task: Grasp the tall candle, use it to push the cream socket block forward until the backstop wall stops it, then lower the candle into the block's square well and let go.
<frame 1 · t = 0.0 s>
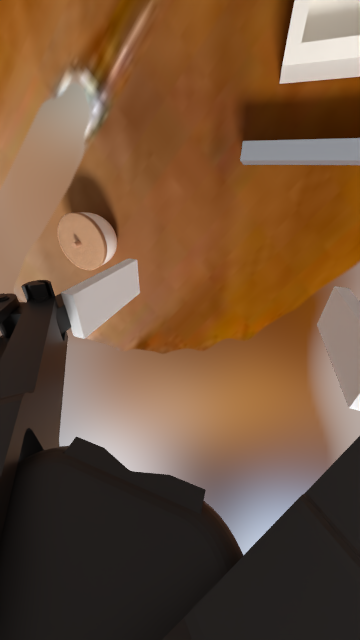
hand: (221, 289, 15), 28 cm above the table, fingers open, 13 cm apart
lidded jar: (105, 236, 47), on the table
backstop wall: (302, 156, 30), on the table
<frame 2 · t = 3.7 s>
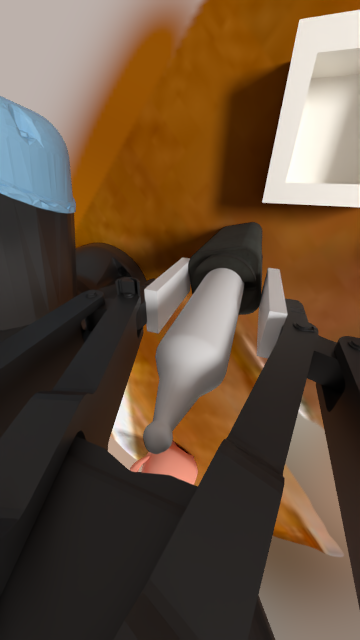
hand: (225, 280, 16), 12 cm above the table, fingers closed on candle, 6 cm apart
candle: (240, 246, 26), on the table, touching gripper
teapot: (177, 453, 57), on the table
socket block: (344, 131, 17), point 3 cm above the table, slide at 0.0 cm
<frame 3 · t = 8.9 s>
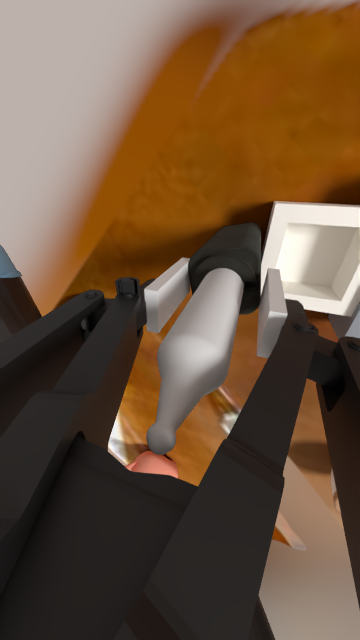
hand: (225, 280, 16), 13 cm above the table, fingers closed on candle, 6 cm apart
lidded jar: (357, 460, 39), on the table
candle: (239, 246, 26), point 1 cm above the table, touching gripper
teapot: (161, 459, 65), on the table
socket block: (311, 257, 23), point 3 cm above the table, slide at 6.5 cm, touching backstop wall
when the fingers open (15 cm above the table, at t = 13.3 s): candle drops 2 cm, resting on socket block.
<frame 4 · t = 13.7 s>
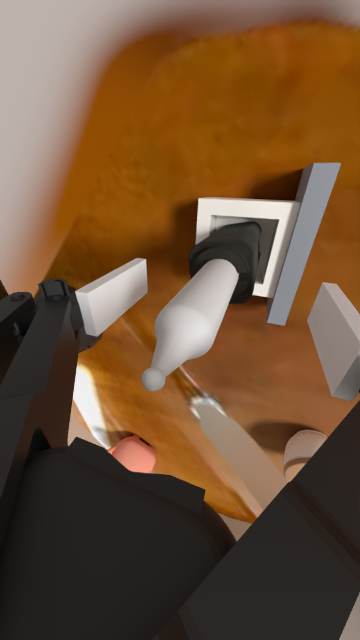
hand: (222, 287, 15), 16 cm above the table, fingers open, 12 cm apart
lidded jar: (311, 438, 42), on the table
candle: (239, 244, 27), point 1 cm above the table, touching socket block
teapot: (141, 445, 68), on the table
socket block: (240, 246, 26), point 3 cm above the table, slide at 6.5 cm, touching candle
backstop wall: (290, 246, 27), on the table
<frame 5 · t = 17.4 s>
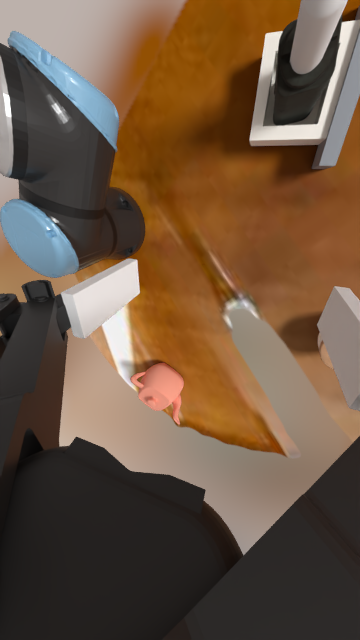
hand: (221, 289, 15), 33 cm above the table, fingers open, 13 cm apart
lidded jar: (341, 329, 45), on the table
candle: (292, 100, 30), point 1 cm above the table, touching socket block
teapot: (168, 375, 71), on the table
socket block: (295, 95, 29), point 3 cm above the table, slide at 6.5 cm, touching candle
backstop wall: (339, 99, 30), on the table
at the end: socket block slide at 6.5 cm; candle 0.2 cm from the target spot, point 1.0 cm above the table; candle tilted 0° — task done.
